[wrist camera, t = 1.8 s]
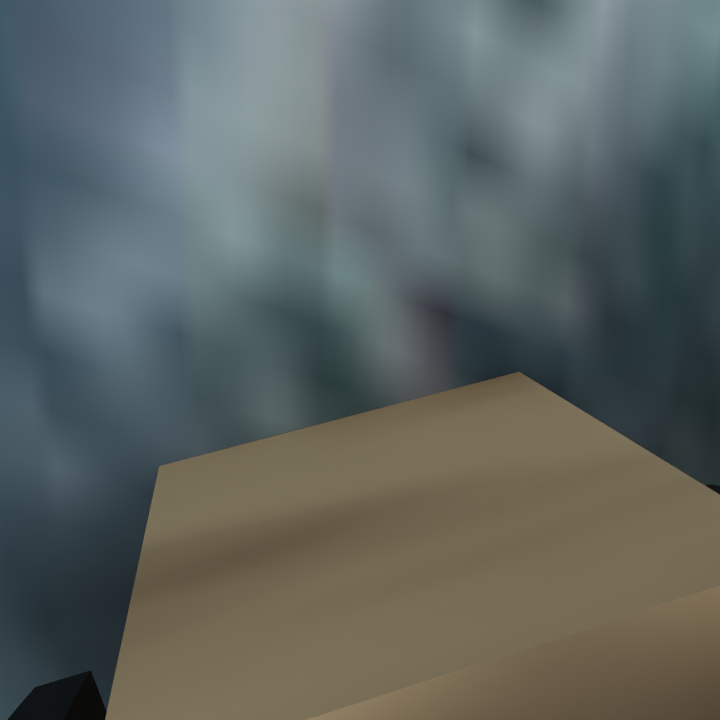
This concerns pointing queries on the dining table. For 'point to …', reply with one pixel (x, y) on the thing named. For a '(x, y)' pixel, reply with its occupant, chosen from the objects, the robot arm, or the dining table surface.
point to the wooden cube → (428, 572)
